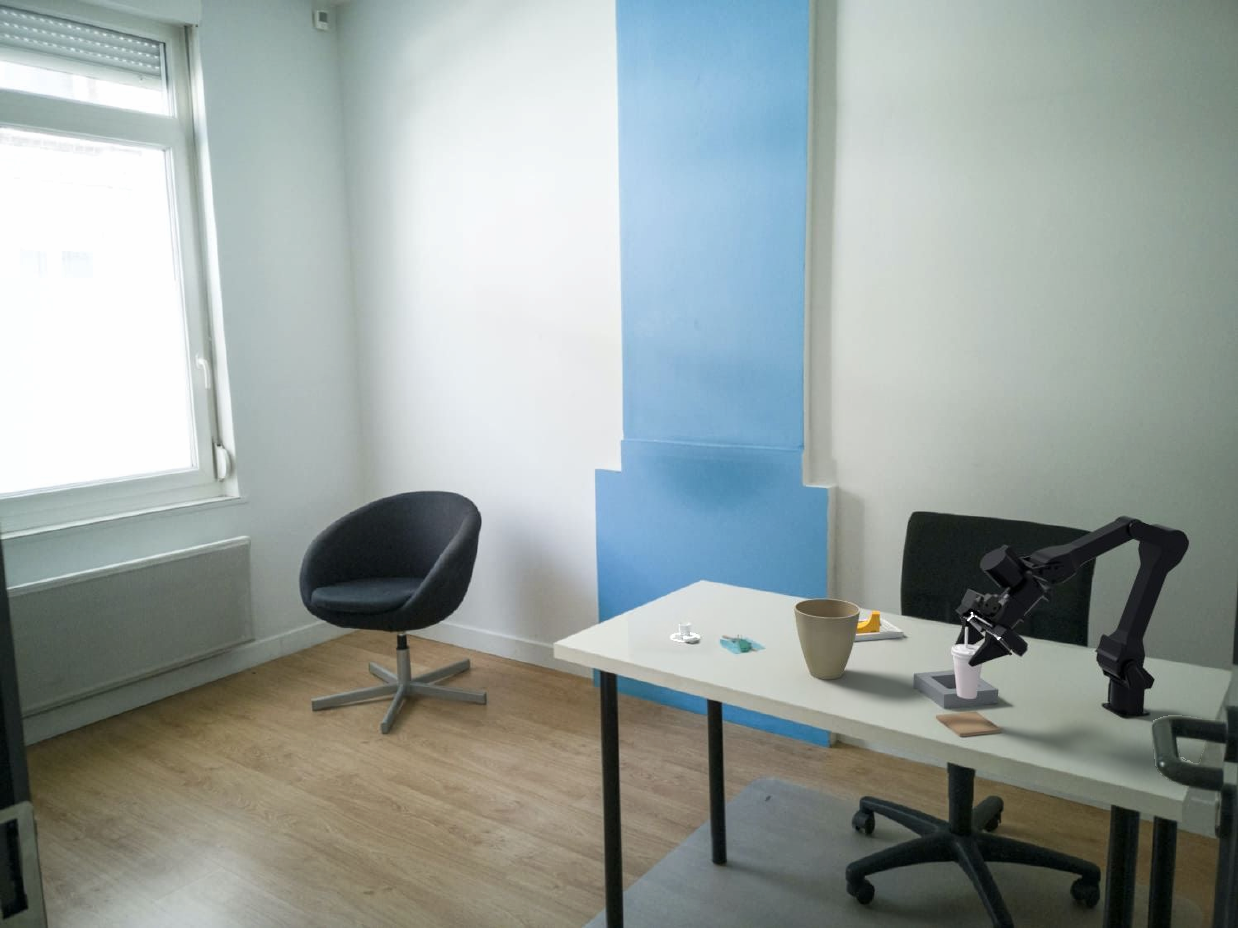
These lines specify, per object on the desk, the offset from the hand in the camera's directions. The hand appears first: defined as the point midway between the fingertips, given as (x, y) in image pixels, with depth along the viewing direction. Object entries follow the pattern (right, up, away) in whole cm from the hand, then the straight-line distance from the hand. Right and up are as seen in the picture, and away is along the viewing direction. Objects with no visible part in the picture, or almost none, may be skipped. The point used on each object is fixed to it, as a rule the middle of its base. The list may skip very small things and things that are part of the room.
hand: (961, 659), depth 183 cm
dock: (+5, -11, +16) cm, 20 cm away
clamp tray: (-5, -6, +59) cm, 59 cm away
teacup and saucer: (-53, -8, +56) cm, 77 cm away
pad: (+2, -13, +1) cm, 13 cm away
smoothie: (+2, -8, +1) cm, 8 cm away
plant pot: (-20, -10, +30) cm, 37 cm away
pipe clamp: (-6, -6, +58) cm, 59 cm away
